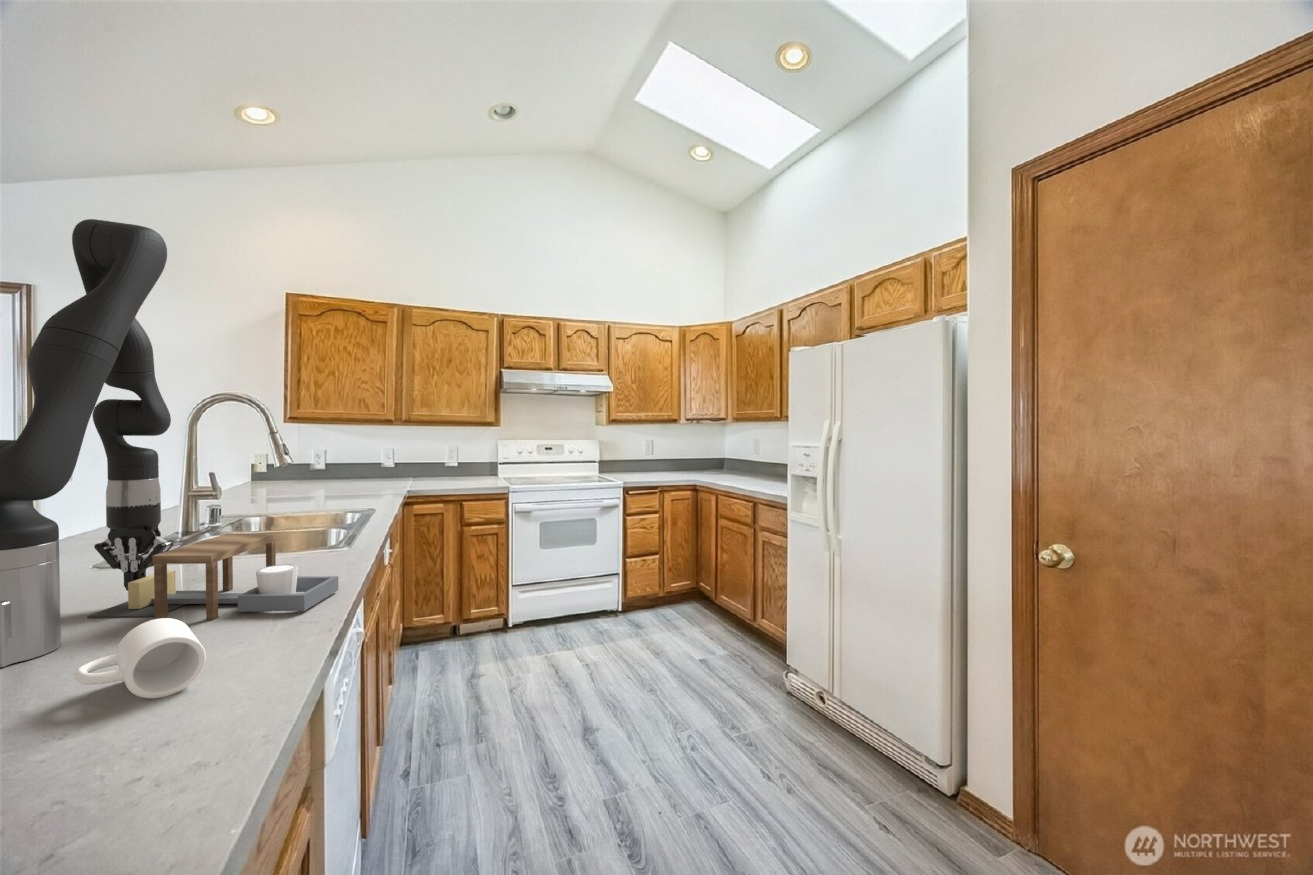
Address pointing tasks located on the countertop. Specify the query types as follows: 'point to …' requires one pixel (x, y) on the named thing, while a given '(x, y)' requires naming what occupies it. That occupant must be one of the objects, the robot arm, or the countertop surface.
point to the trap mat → (146, 611)
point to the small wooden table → (208, 565)
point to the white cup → (277, 579)
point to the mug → (151, 660)
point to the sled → (239, 595)
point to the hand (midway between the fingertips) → (135, 589)
